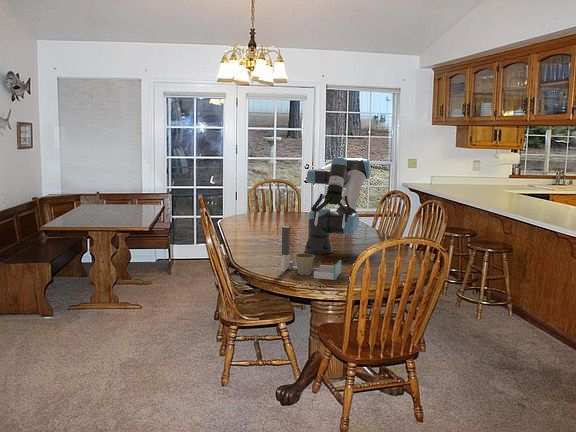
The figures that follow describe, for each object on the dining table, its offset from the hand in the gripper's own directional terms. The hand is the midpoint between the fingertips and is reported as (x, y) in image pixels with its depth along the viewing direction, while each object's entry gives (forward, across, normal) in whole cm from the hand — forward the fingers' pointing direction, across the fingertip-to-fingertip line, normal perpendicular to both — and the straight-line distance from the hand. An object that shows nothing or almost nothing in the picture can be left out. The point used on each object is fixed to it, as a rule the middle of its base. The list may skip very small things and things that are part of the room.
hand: (329, 226), depth 298 cm
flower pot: (+27, -7, -6) cm, 28 cm away
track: (+23, -10, 0) cm, 25 cm away
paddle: (+25, -16, -5) cm, 30 cm away
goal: (+26, +3, -6) cm, 27 cm away
